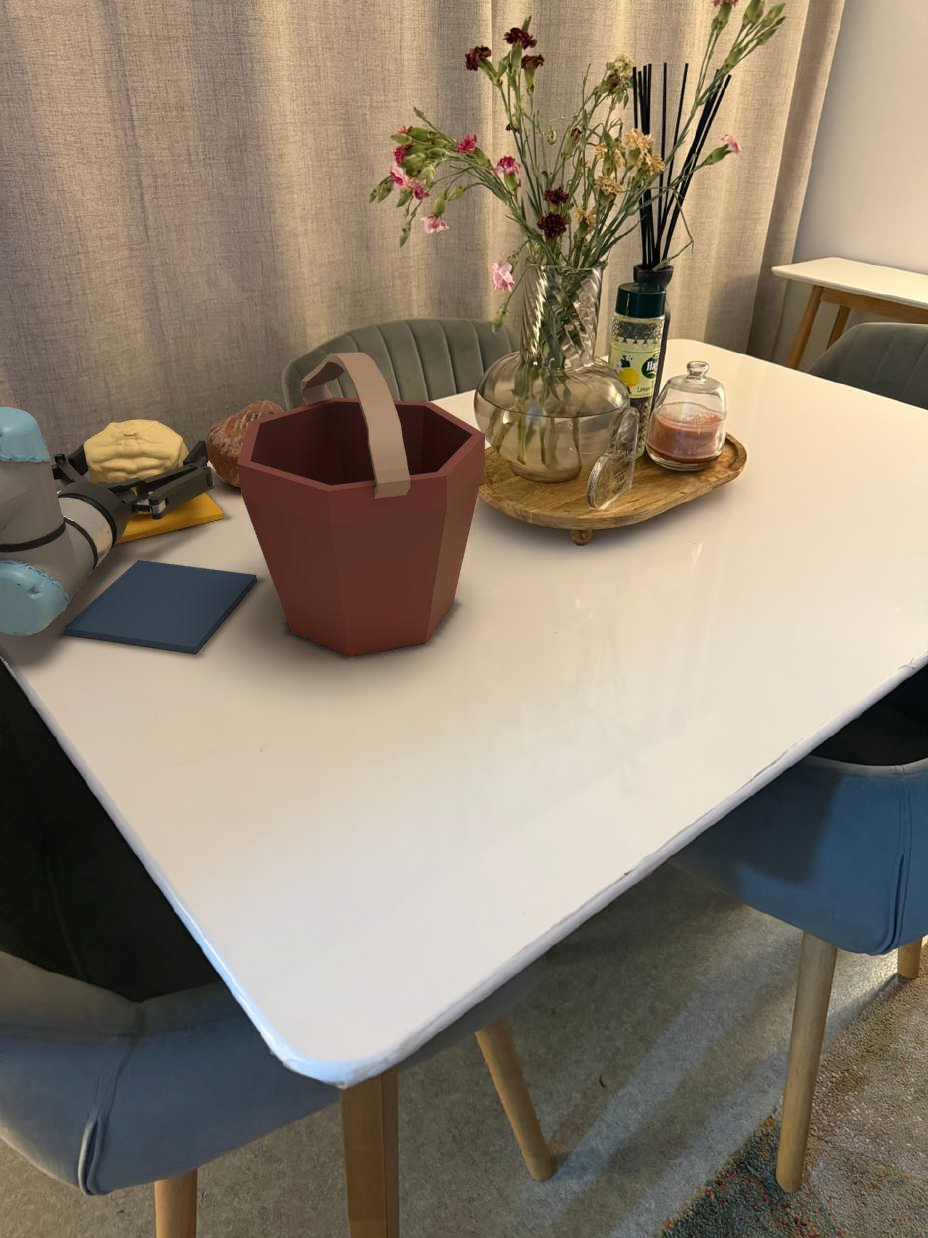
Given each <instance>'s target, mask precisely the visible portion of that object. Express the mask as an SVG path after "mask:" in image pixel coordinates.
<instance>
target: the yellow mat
mask: <svg viewBox="0 0 928 1238" xmlns="http://www.w3.org/2000/svg"><path fill="white" fill-rule="evenodd" d="M223 519H225V516H224V512H223V511H222V509H221V508H220V507H219V506H218V504H216V503H215V501H214V500H212V498H211V497H210V496H209V495H208V494H207V492H205V493H203V494H201V495H199V496H197V497H195V498H193V499H191V500H190V501H188V502H186V503H184V504H182V505H180V506H178V507H176V508H174V509H172V510H170V511H169V512H168V513H167V514H166V515H165V516H164V517H163V518H162V519H159V520H154V519H152V517H151V514H148V515H135V516H133V517H131V518H130V519H129V521H128V524H127V527H126V529H125V532H124V533H123V535H122V536H121V538H120V539H119V540H118V541H117V543H116V544H115V545H119V544H123V543H128V542H131V541H135V540H136V541H137V540H140V539H143V538H147V537H153V536H156V535H160V534H164V533H168V532H173V531H176V530H180V529H185V528H189V527H193V526H198V525H202V524H206V523H210V522H214V521H219V520H223Z"/></svg>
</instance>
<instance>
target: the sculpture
mask: <svg viewBox="0 0 928 1238" xmlns="http://www.w3.org/2000/svg"><path fill="white" fill-rule="evenodd" d="M90 437H91V438H90ZM90 437H89V438H90V439H89V438H88V439H87V440H85V441H84V442H83V443H84V451H85V456H86V462H87V465H88V473H89V477H90V479H91V480H90V481H91V482H92V483H97V482H106V483H112V482H118V483H119V482H122V481H125V480H128V479H131V478H134V477H139V478H140V479H145V478H148V477H151V476H154V475H157V474H160V473H163V472H166V471H169V470H172V469H175V468H179V467H182V466H183V460H184V459H185V458H186V457H187V455H188V454H189V453H190V451H189V450H188V447H187V446H186V444H185V442H184V439H183V436H181V435H180V434H178V433H177V432H176V431H175V430H173V429H172V428H170V427H169V426H167V425H165V424H163V423H161V422H159V421H158V420H149V419H129V420H125V421H122V422H116V421H115V422H110V423H108V424H107V426H106V427H105V428H104V429H103V430H102V431H100V432H98V433H97V434H95V435H93V436H90ZM131 489H132V490H133V492H134V493H135V494H136V496H137V493H136V489H135V487H133V488H131ZM148 514H151V513H150V512H139V513H138V514H137V515H148Z"/></svg>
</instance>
